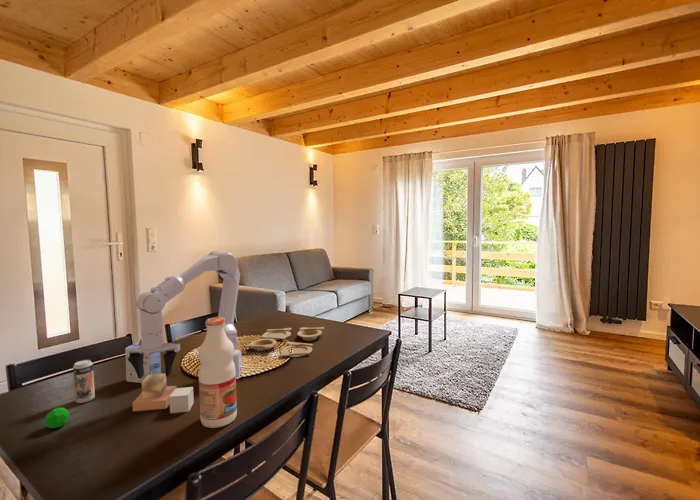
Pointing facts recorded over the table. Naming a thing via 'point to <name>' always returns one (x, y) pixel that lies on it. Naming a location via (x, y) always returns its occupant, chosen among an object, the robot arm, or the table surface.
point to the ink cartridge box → (149, 363)
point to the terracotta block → (153, 401)
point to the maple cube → (154, 386)
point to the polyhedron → (57, 418)
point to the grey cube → (181, 400)
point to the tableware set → (298, 348)
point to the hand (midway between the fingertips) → (154, 375)
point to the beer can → (83, 381)
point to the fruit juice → (217, 376)
